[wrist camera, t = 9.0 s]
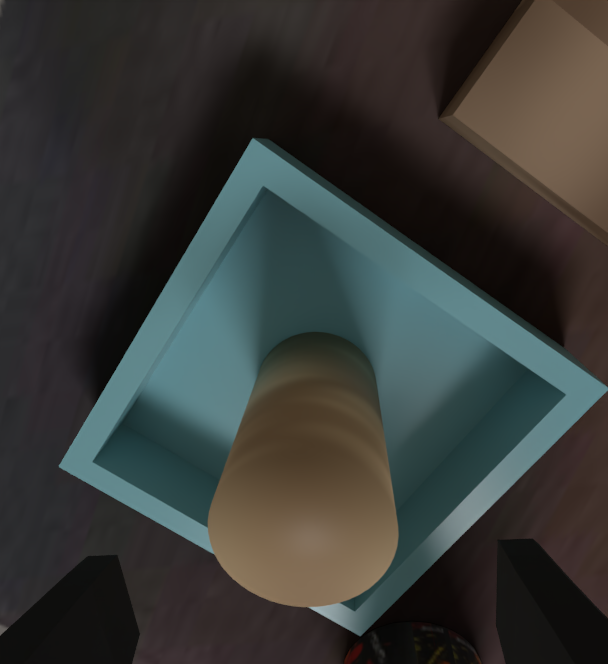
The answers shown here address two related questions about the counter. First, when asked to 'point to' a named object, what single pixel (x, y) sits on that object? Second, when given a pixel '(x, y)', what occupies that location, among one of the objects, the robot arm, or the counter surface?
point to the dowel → (308, 479)
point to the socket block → (545, 105)
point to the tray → (351, 324)
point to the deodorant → (412, 646)
